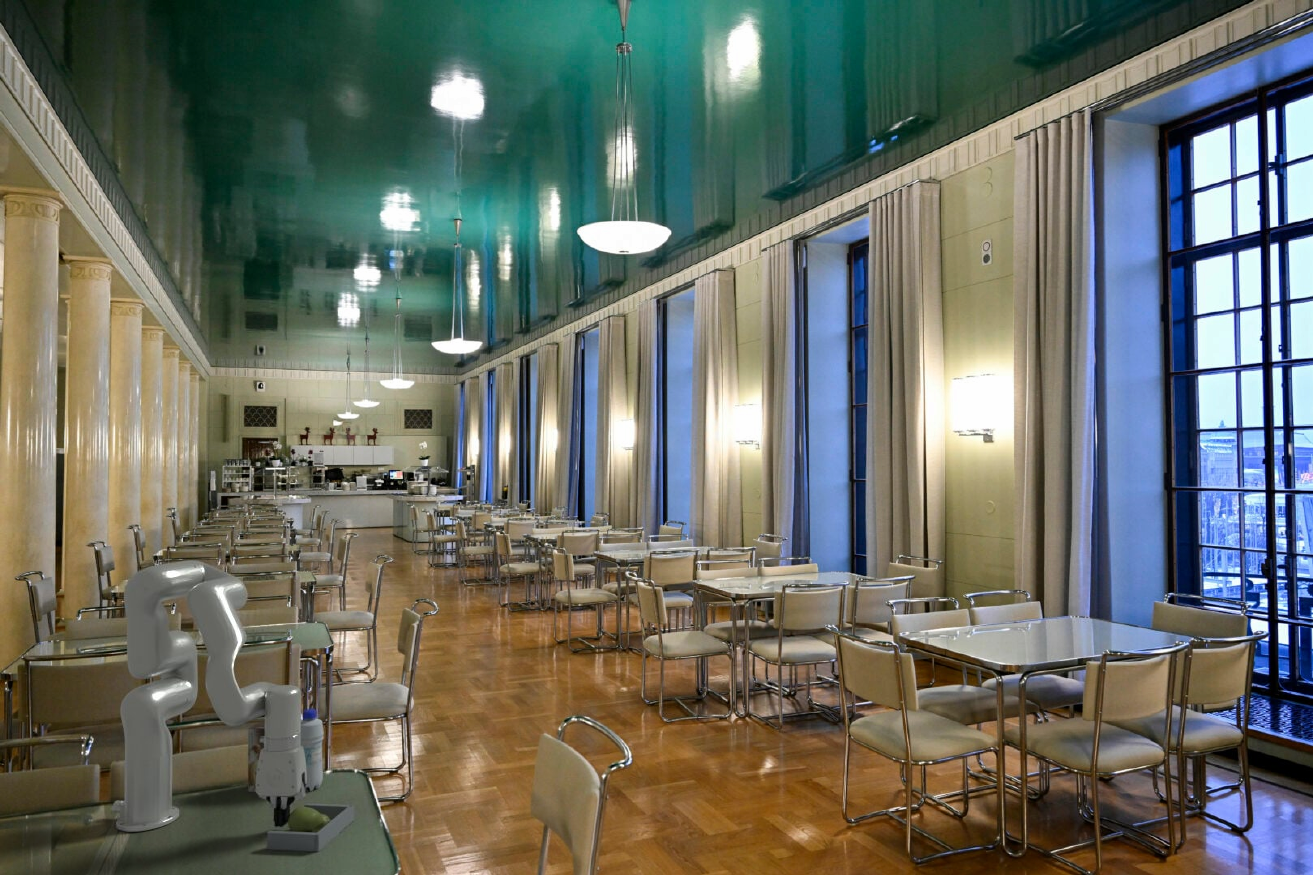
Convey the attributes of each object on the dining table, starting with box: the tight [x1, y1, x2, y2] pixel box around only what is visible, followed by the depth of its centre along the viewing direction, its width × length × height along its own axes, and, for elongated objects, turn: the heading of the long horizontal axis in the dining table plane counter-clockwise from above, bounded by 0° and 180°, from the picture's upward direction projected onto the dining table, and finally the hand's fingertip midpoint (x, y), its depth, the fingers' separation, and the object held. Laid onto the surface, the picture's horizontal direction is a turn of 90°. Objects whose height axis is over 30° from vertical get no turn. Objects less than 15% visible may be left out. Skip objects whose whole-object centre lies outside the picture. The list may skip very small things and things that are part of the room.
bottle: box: [301, 708, 325, 792], centre depth 217 cm, size 7×7×20 cm
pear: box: [287, 806, 332, 833], centre depth 190 cm, size 6×5×10 cm
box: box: [266, 802, 355, 853], centre depth 189 cm, size 12×16×4 cm
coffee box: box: [247, 720, 265, 793], centre depth 217 cm, size 9×6×16 cm
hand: (281, 824), depth 191 cm, fingers closed
